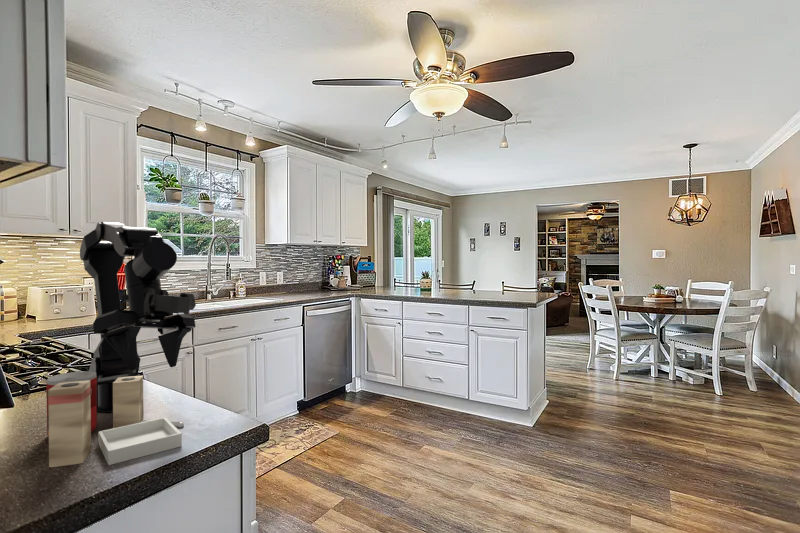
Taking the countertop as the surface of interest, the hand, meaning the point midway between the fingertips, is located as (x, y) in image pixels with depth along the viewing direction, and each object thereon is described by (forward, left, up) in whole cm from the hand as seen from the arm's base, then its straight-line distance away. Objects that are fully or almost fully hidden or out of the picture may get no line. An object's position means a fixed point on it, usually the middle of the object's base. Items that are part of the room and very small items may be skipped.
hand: (154, 368), depth 81 cm
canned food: (-18, +1, -14) cm, 23 cm away
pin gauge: (-3, +6, -14) cm, 15 cm away
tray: (-1, -3, -13) cm, 14 cm away
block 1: (-9, -9, -13) cm, 18 cm away
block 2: (-11, +7, -13) cm, 19 cm away
